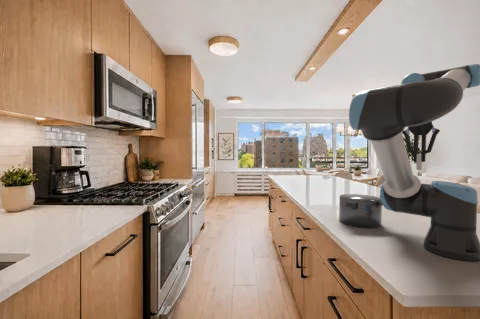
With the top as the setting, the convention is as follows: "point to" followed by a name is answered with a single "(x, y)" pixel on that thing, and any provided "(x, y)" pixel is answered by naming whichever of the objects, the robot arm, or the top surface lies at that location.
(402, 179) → the robot arm
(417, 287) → the top surface
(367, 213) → the cooker pot
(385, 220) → the top surface
